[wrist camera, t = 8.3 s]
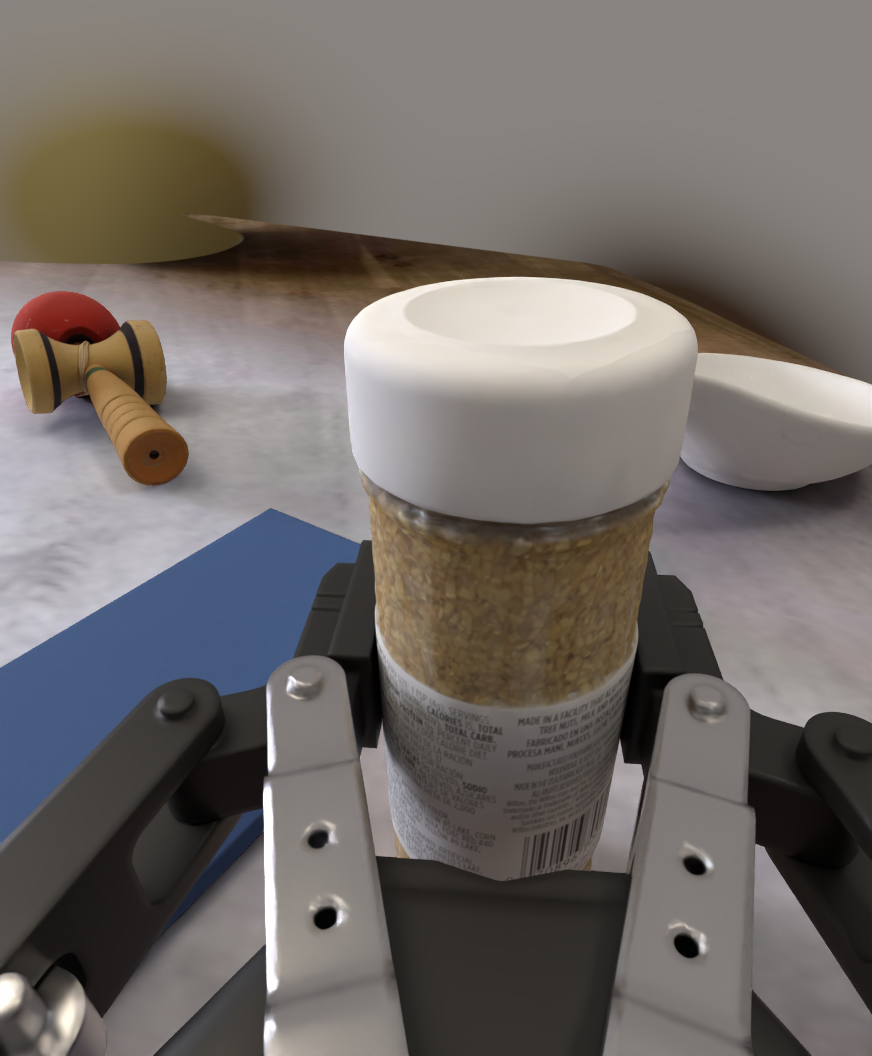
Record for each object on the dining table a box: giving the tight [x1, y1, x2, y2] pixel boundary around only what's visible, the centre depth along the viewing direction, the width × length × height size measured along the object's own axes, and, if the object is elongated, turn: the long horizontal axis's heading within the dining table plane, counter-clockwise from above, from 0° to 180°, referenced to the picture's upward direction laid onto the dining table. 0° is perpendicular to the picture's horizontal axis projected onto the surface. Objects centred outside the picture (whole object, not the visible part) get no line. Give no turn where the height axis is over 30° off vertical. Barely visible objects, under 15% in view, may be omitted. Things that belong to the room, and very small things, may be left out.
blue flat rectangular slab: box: [0, 508, 361, 936], centre depth 19 cm, size 24×11×1 cm, turn 145°
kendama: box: [11, 291, 189, 485], centre depth 38 cm, size 8×6×18 cm
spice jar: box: [344, 277, 698, 881], centre depth 13 cm, size 5×5×14 cm
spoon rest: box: [680, 353, 872, 491], centre depth 29 cm, size 24×12×7 cm, turn 127°
